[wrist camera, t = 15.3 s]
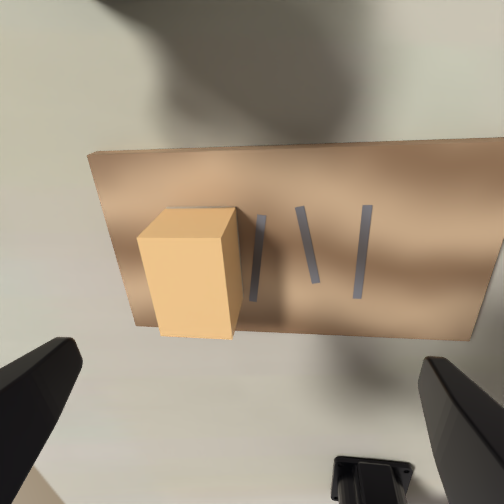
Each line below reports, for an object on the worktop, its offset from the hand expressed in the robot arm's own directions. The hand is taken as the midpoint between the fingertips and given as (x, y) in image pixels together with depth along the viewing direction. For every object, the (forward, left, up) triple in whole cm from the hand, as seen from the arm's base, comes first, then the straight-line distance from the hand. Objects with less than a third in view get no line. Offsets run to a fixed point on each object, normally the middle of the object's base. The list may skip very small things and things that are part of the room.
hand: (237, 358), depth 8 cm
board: (-3, -1, -12) cm, 12 cm away
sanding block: (-3, +4, -11) cm, 12 cm away
